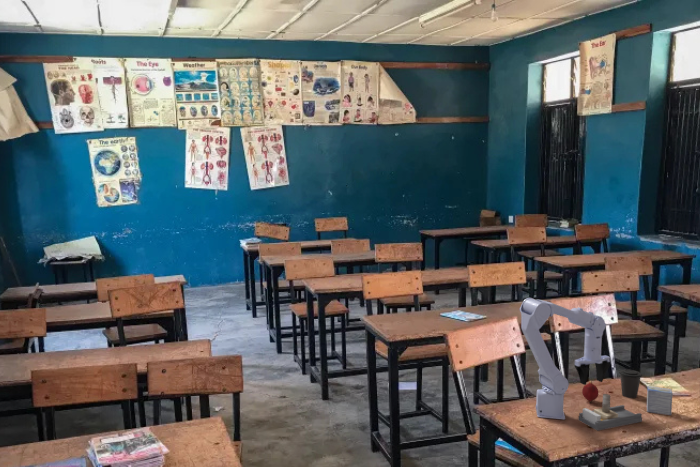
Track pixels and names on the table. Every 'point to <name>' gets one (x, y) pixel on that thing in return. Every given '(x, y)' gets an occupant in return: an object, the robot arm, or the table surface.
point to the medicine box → (659, 400)
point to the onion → (590, 391)
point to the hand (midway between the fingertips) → (591, 382)
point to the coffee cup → (630, 383)
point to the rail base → (600, 424)
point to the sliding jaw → (606, 409)
